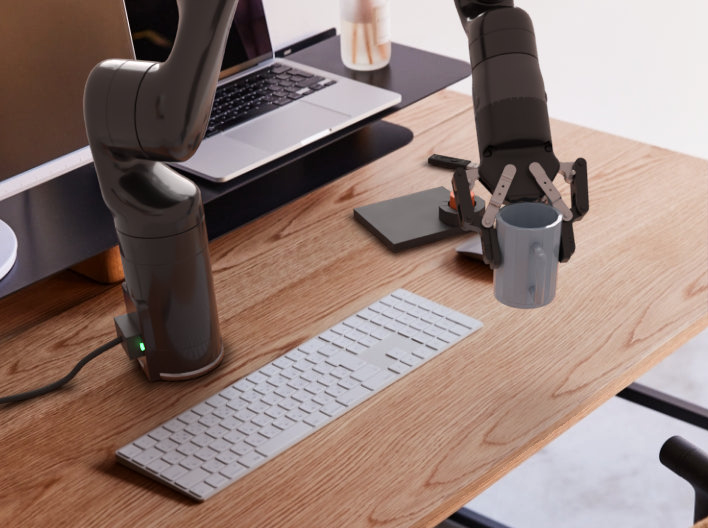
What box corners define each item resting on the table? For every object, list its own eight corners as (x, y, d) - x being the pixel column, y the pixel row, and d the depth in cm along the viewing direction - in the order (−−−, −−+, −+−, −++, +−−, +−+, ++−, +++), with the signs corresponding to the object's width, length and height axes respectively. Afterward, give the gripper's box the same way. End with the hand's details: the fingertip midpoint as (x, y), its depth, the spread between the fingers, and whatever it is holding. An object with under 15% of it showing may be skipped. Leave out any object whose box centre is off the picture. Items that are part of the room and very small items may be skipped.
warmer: (396, 254, 137) (395, 233, 135) (353, 216, 146) (352, 196, 144) (493, 227, 142) (494, 206, 140) (445, 192, 151) (446, 172, 149)
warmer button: (457, 213, 140) (457, 201, 139) (445, 204, 142) (445, 192, 141) (478, 207, 141) (479, 195, 140) (466, 198, 143) (466, 186, 142)
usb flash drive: (481, 168, 157) (481, 161, 156) (475, 173, 155) (475, 166, 155) (433, 158, 160) (433, 152, 160) (427, 163, 159) (427, 157, 158)
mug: (487, 280, 115) (490, 203, 109) (547, 275, 115) (553, 198, 110) (506, 326, 107) (510, 245, 102) (570, 320, 107) (577, 240, 102)
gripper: (569, 119, 115) (590, 268, 112) (437, 130, 114) (455, 280, 112) (587, 88, 108) (610, 246, 105) (446, 99, 107) (465, 259, 104)
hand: (530, 263), depth 108 cm, fingers closed on mug, 6 cm apart
